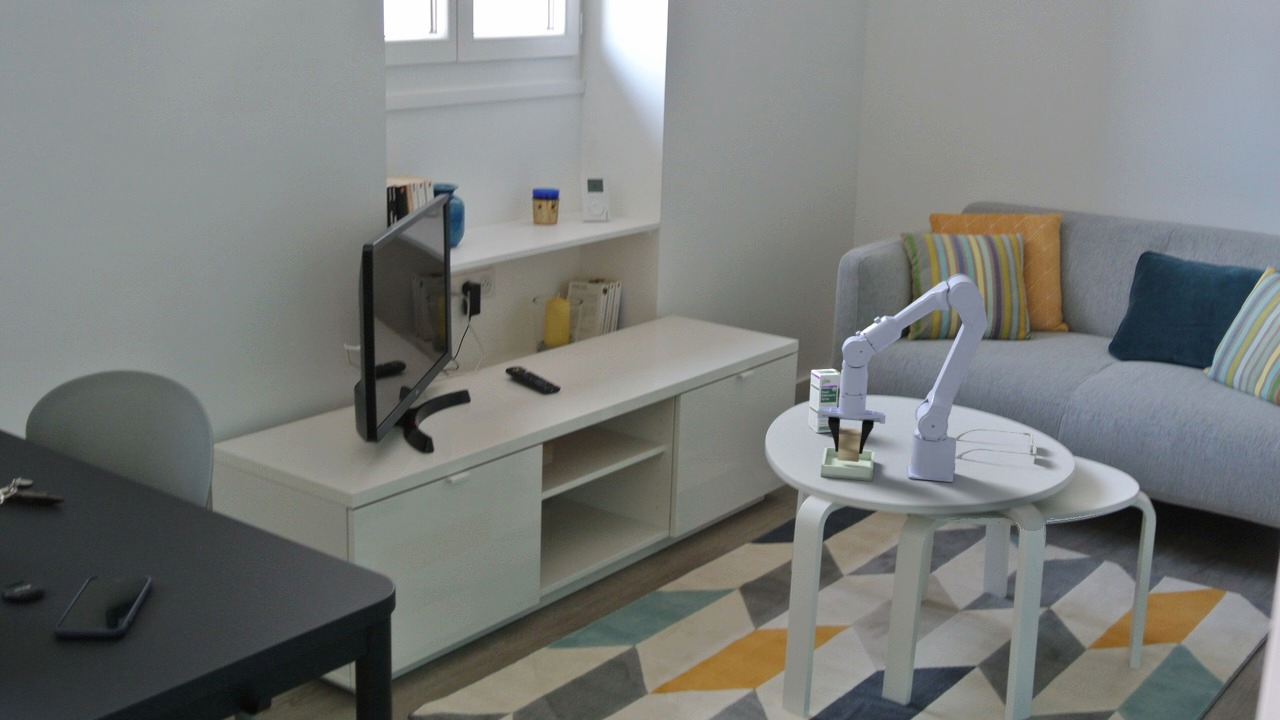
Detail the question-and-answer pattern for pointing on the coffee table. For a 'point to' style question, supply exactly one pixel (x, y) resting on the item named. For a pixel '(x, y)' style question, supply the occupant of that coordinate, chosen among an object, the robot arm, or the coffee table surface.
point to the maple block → (849, 444)
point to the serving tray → (847, 466)
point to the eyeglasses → (1031, 444)
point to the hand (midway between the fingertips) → (848, 451)
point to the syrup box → (823, 396)
